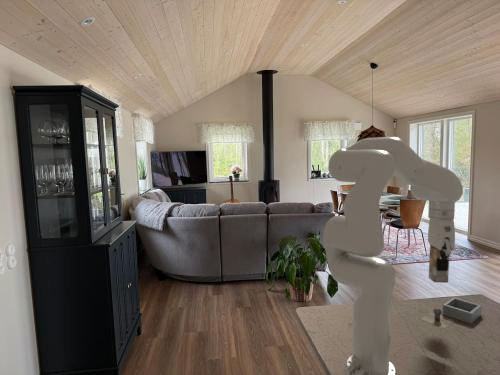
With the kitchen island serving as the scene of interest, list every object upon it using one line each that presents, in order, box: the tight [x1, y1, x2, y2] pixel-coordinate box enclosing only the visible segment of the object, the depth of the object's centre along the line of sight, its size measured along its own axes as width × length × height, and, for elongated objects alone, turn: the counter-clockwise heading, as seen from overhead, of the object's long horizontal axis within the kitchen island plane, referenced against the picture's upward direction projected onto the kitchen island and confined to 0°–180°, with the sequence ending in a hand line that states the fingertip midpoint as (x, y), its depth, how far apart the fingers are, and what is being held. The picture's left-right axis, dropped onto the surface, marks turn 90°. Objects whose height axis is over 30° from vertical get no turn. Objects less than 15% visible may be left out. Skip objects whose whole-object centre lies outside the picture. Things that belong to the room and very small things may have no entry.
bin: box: [442, 296, 482, 325], centre depth 123 cm, size 9×9×5 cm
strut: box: [428, 246, 450, 284], centre depth 118 cm, size 4×4×11 cm
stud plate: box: [419, 307, 456, 329], centre depth 120 cm, size 8×8×6 cm
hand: (438, 267), depth 118 cm, fingers closed on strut, 4 cm apart
